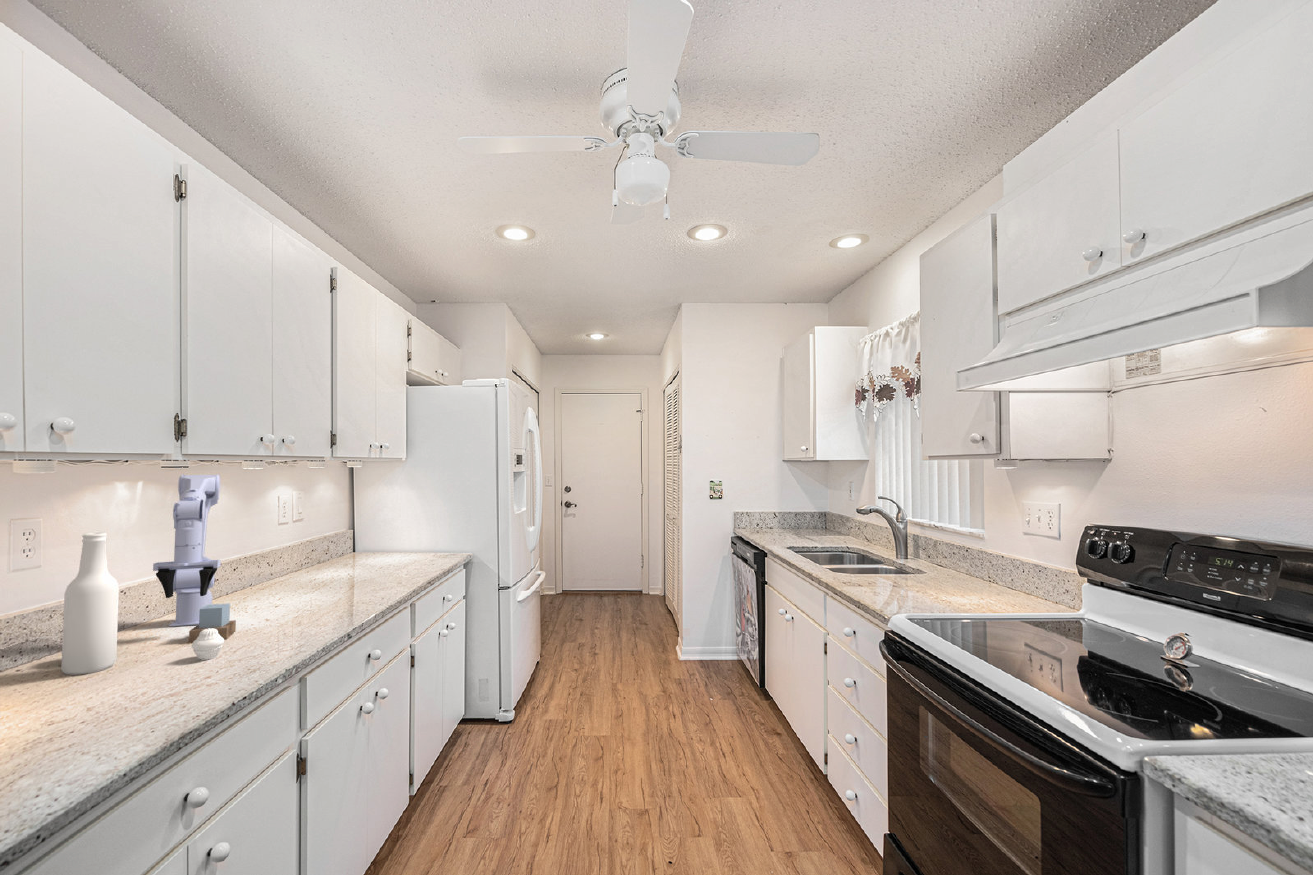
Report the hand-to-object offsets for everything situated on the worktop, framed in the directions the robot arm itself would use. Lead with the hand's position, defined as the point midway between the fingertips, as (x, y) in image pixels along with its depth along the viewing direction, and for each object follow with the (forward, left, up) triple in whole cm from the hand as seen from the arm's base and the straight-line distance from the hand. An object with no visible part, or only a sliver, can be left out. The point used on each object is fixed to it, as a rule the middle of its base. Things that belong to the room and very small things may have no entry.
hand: (186, 596), depth 157 cm
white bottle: (+25, -8, -10) cm, 28 cm away
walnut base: (+4, +8, -11) cm, 14 cm away
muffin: (+24, +14, -10) cm, 30 cm away
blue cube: (+5, +8, -7) cm, 12 cm away
